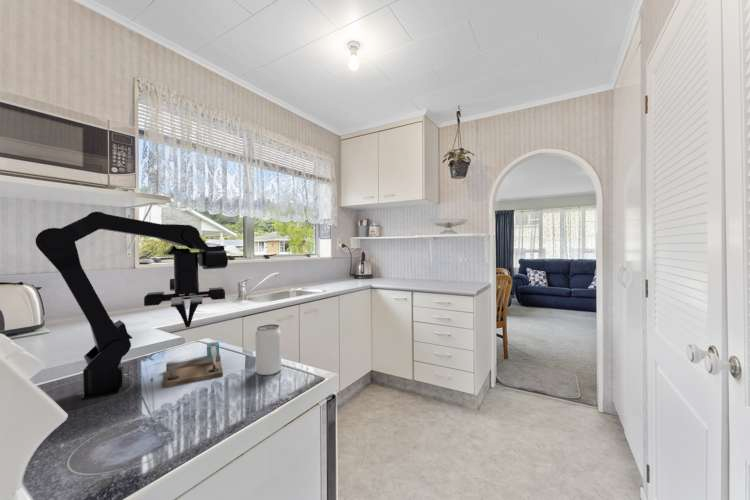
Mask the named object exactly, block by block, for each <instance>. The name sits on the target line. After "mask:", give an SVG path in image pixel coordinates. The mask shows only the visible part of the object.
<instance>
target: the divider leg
mask: <svg viewBox="0 0 750 500" xmlns="http://www.w3.org/2000/svg"><path fill="white" fill-rule="evenodd" d="M219 354H220V344H219V341H214V342H208V343H206V356H207V358H208V357H213V369H216V356H219Z"/></svg>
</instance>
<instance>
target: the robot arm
mask: <svg viewBox="0 0 750 500" xmlns="http://www.w3.org/2000/svg"><path fill="white" fill-rule="evenodd" d="M99 230H103V231H109V232H116V233H122V234H128V235H133V236H141V237H146V238H147V237H148V238H153V239H154V238H155V239H157V240H161V241H163V242H166V243H169V244H172V245H171V246H170V247H169V248H168V250H166V251H164V255H167V256H169V255H170V256H171V255H172V256H173V278H170V279H169V290H170V291H171V292H172V291H174V293H167V294H165V291H156V292H153V291H151V292H148V293H147V294H146V295H145V296H144V298H143V305H144V307H149V306H159V305H160V304H162V302H171V304H170V307H171V308H172V307H173V308H174V307H175V309H176V310H177V312H178V313H179V315H180V316H181V319H182V322H183V323H184V325H185V328H190V327H191V323H192V320H193V318H194V314H195V312H196V310H197V308H198V306H199V305H203V298H204V299H205V298H210V299H211V300H212V301H215V300H225V299H226V291H225V288H224V287H222V286H221V287H210V288H209V287H208V290H204V291H200V283H199V267H202V269H203V270H215V269H216V270H219V269H226V268H227V267H228V262H229V256H228V254H227V251H226V250H225V246H224V245H216V246H208V244H207V243H206V241H204V239H203V238H202V237H201V233H200V231H199V230H198V228H197V227H196V226H194V225H191V224H177V223H176V224H174V223H173V224H172V223H170V224H169V223H166V224H165V223H164V224H163V223H162V224H161V223H156V222H151V221H146V220H141V219H135V218H131V217H125V216H121V215H120V216H119V215H118V216H117V215H114V214H110V213H109V214H108V213H104V212H103V211H102V212H101V211H92V212H90V213H88V214H87V215H86V216H84V217H82V218H80V219H78V220H75V221H74V222H71V223H69V224H66V225H65V226H62V227H60V228H59V227H50V228H46V229H44V230H41V232H39V233H37V236H36V237H35V246H36V248H38V250H39V251H40V252H41V254H43V255H44V257H45V258H46V259H47V260H48V261H49V263H51V264H52V265H53V266H54V268H55V269H57V271H58V272H59V273H60V276H61V277H62V279H63V280H64V282H65V283H66V285H67V287H68V289H69V290H70V292H71V294H72V296H73V298H74V299H75V302H76V303H77V305H78V306H79V308H80V310H81V311H82V314H83V315H84V316H85V319H86V320H87V322H88V324H89V326H90V331H91V333H92V338H93V341H94V346H93V347H91V349H90V350H89V351H87V353H85V354H84V356H83V358H84V360H85V362H86V364H87V365H86V366H85V367H84V369H83V370H82V374H83V395H81V398H80V399H81V401H83V400H88V399H94V398H98V397H103V396H104V397H105V396H108V395H113V394H118V393H119V392H120V390H121V388H123V386H124V384H125V367H124V366H122V359H123V358H124V357H125V356H126V355H127V354H128V352H129V351H130V349H131V347H132V343H131V340H130V339H133V336H131V334H129V333H128V331H127V327H126V324H125V323H124V322H123V321H121V319H119V320H117V321H116V322H114V321H113V320H112V319H111V317H110V315H109V314H108V312H107V309H106V308H105V307H104V305H103V303H102V301H101V299H100V298H99V295H98V294H97V292H96V290H95V289H94V286H93V285H92V283H91V281H90V279H89V278H88V276H87V274H86V271H84V269H83V266H82V264H81V260H80V255H79V251H78V248H77V245H76V242H77V241H79V240H81V239H83V238H85V237H87V236H89V235H91V234H93V233H95V232H97V231H99ZM177 246H178V247H184V248H177ZM185 247H186V248H185ZM191 250H198V251H191ZM185 300H190V302H189V309H188V315H187V309H186V304H185V303H186V301H185Z"/></svg>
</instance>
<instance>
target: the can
mask: <svg viewBox="0 0 750 500" xmlns="http://www.w3.org/2000/svg"><path fill="white" fill-rule="evenodd" d="M281 336H282V332H281V329H280V325H279V324H275V323H274V324H273V323H271V324H270V323H269V324H263V325H259V326H257V327H256V332H255V370H256V371H255V373H257V375H259V374H260V375H259V376H262V375H268V376H273V375H276V374H278V373H279V372H281V369H282V337H281ZM275 373H276V374H275ZM272 374H273V375H272Z"/></svg>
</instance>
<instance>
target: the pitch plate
mask: <svg viewBox="0 0 750 500" xmlns="http://www.w3.org/2000/svg"><path fill="white" fill-rule="evenodd" d="M222 366H223V365H222V362H221V353H219V356H216V369H213V357H208V358H207V355H204V356H197V357H193V358H191V357H190V358H186V359H180V360H174V361H168V362H166V363H165V368H166V369H165V373H164V377H163V382H162V388H163V389H164V388H169V387H174V386H179V385H184V384H189V383H193V382H194V383H195V382H199V380H200V381H204V380H203V379H205V380H209V378H210V379H215V378H220V377H223V375H224V372H223V367H222ZM219 376H220V377H219Z"/></svg>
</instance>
